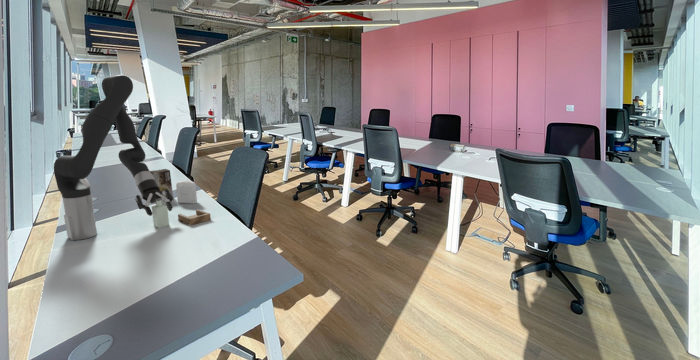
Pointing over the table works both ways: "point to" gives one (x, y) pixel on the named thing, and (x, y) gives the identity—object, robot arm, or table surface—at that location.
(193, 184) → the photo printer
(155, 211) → the bottle
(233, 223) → the table surface
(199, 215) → the rest
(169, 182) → the coffee box
